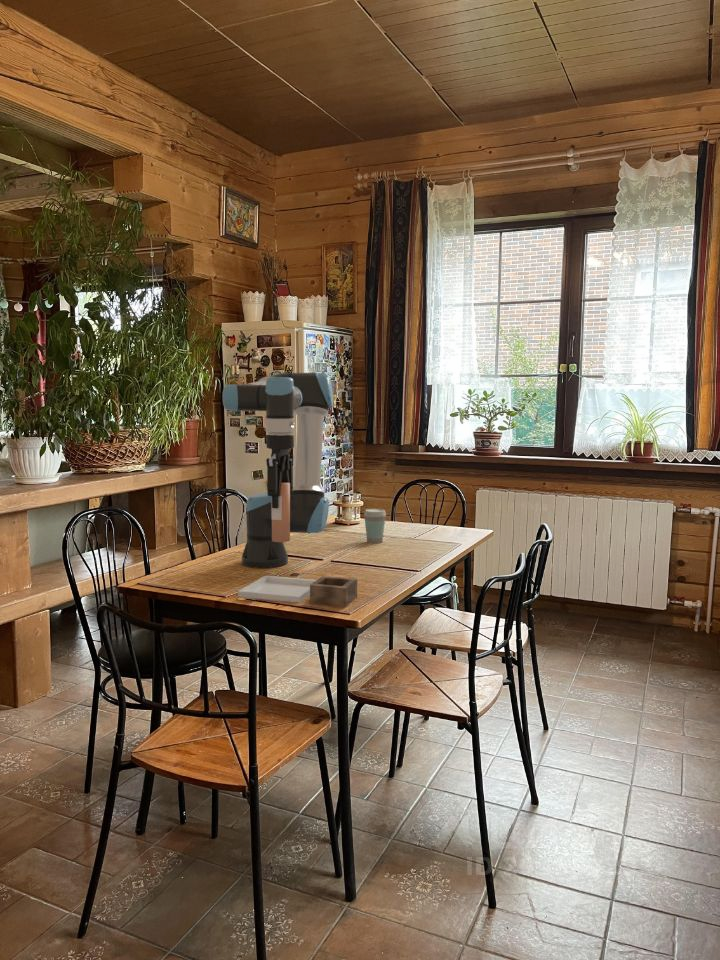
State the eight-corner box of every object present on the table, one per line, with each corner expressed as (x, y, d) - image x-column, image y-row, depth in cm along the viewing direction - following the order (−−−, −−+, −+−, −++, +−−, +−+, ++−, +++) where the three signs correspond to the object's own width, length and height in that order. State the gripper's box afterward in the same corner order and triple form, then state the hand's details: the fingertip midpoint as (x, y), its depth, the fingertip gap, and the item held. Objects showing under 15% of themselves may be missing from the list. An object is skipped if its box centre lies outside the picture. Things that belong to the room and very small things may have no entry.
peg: (268, 541, 204) (268, 484, 202) (276, 538, 208) (276, 481, 207) (285, 542, 202) (285, 484, 200) (292, 539, 207) (292, 482, 205)
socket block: (309, 607, 195) (309, 585, 195) (322, 597, 205) (322, 575, 204) (345, 610, 192) (345, 588, 192) (357, 600, 202) (357, 578, 201)
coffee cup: (386, 543, 276) (386, 512, 274) (363, 543, 276) (363, 512, 274) (385, 539, 284) (386, 508, 283) (363, 539, 284) (363, 508, 283)
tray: (237, 600, 201) (237, 591, 201) (265, 583, 219) (265, 575, 218) (299, 606, 196) (299, 596, 196) (322, 588, 213) (322, 580, 213)
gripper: (279, 436, 192) (280, 524, 195) (304, 432, 209) (305, 513, 212) (253, 435, 194) (254, 522, 197) (280, 432, 211) (281, 512, 214)
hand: (280, 517), depth 205 cm, fingers closed on peg, 5 cm apart
